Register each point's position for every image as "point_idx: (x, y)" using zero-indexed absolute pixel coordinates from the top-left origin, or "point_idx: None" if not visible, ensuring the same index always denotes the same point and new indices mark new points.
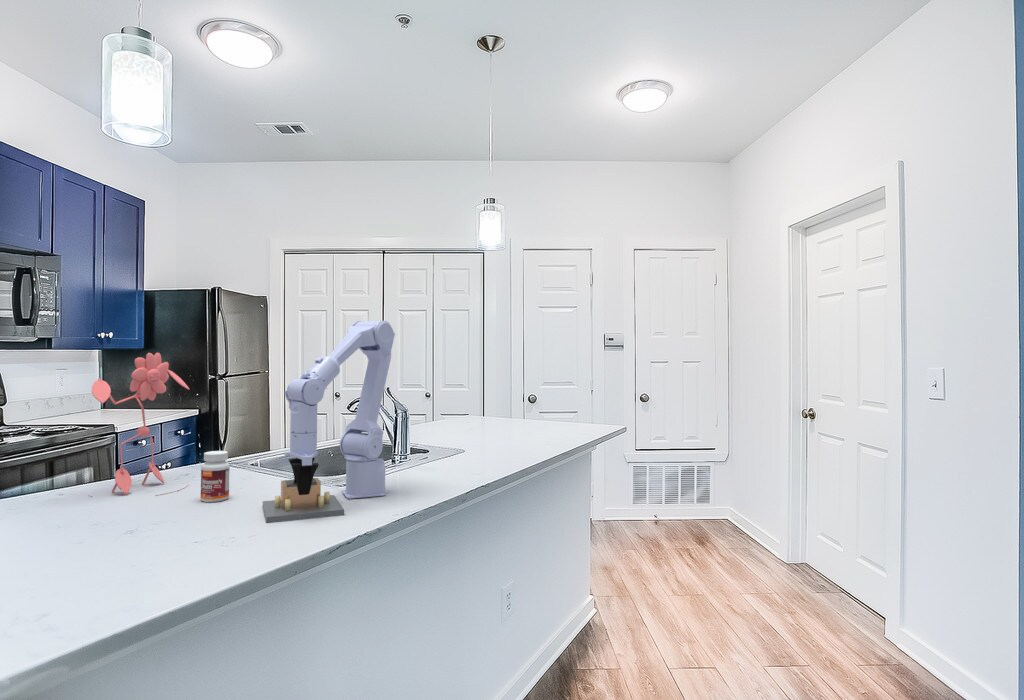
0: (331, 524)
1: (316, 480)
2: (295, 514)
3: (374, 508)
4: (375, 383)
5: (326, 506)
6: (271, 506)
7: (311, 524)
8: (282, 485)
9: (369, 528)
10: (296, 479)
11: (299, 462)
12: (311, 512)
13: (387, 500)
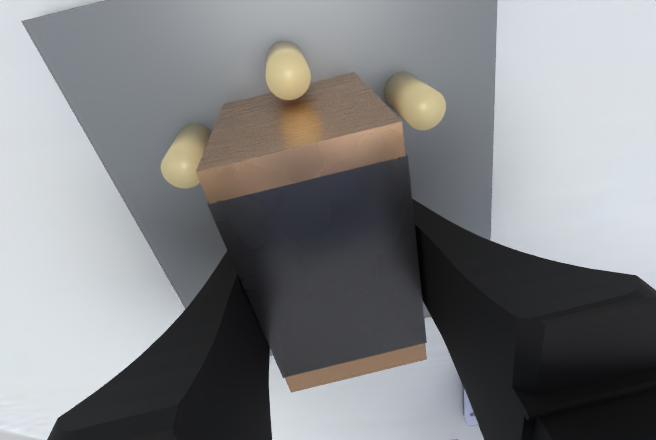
0: (71, 329)
1: (341, 366)
2: (121, 194)
3: (307, 412)
4: None
5: None
6: (321, 10)
7: (57, 261)
8: (232, 157)
9: (39, 431)
10: (220, 302)
11: (498, 386)
12: (164, 262)
13: (405, 427)
